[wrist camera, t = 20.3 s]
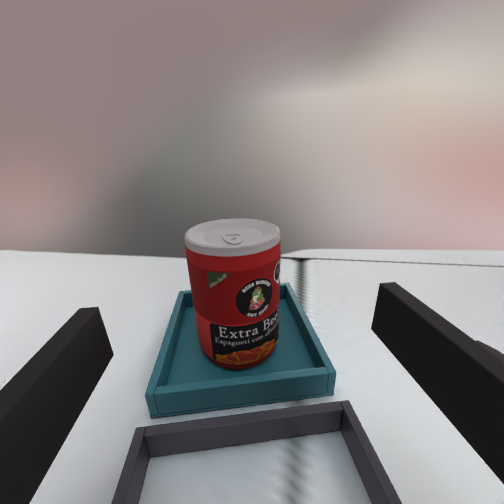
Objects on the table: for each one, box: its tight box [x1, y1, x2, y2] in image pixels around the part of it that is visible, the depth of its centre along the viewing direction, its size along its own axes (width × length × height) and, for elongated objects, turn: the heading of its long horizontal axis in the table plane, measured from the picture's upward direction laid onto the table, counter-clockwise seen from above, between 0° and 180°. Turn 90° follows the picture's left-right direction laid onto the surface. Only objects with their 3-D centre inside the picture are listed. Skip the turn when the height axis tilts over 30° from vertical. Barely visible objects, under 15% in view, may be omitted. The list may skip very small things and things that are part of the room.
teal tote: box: [145, 283, 336, 418], centre depth 23 cm, size 13×13×2 cm
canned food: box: [185, 218, 281, 369], centre depth 21 cm, size 8×8×11 cm
